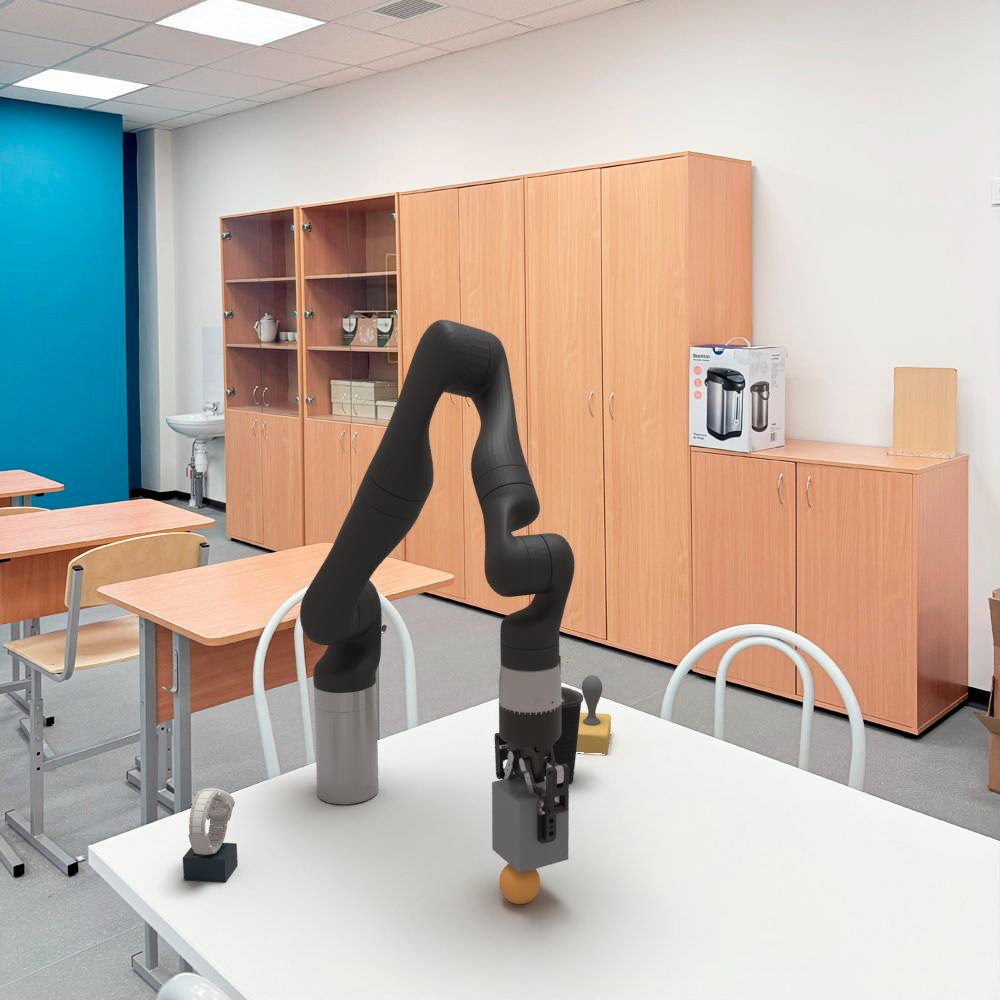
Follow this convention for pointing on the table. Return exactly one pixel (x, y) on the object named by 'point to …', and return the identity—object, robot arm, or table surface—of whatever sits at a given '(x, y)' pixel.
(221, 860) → the watch
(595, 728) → the rubber stamp
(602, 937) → the table surface
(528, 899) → the ball
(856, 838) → the table surface
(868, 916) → the table surface
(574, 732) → the drinking cup
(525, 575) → the robot arm
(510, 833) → the grey block
